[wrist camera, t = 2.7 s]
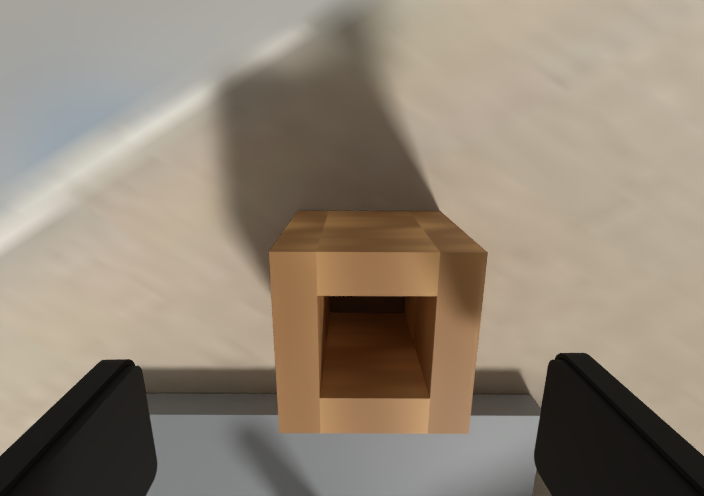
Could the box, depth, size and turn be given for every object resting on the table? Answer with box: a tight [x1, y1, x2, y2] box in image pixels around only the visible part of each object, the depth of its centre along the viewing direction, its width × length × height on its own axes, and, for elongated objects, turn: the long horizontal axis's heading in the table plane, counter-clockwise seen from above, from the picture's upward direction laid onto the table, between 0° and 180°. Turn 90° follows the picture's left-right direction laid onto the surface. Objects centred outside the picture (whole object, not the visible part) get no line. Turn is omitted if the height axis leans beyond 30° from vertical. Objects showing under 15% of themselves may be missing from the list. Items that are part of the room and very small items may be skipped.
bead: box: [269, 211, 488, 434], centre depth 14 cm, size 6×6×6 cm
